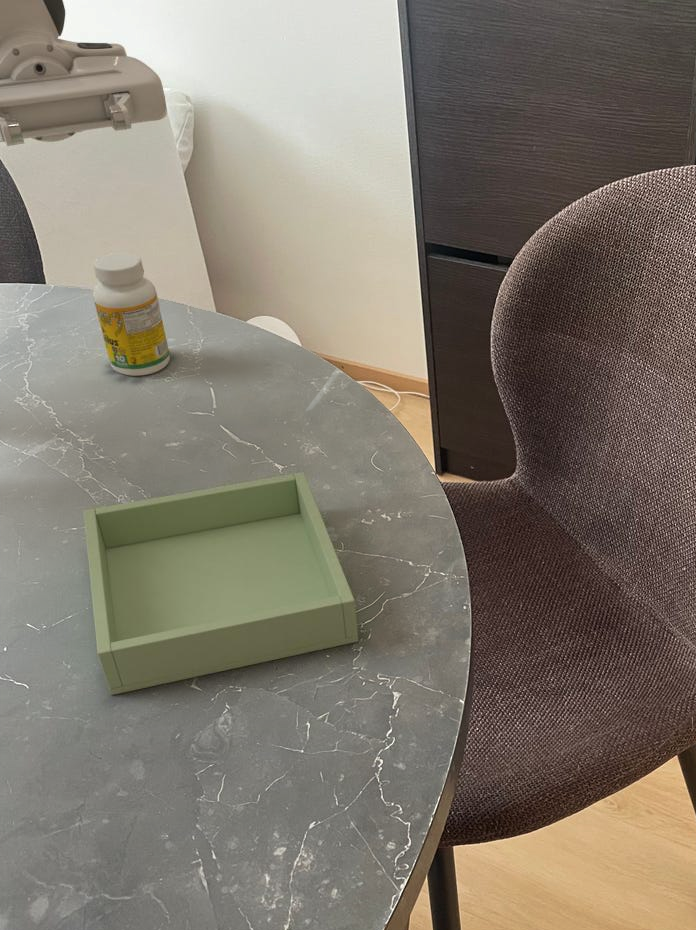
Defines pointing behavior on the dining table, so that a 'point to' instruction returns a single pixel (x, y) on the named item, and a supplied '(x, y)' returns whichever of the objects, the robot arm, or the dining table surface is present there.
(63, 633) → the dining table surface
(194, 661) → the tray
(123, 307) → the supplement bottle
